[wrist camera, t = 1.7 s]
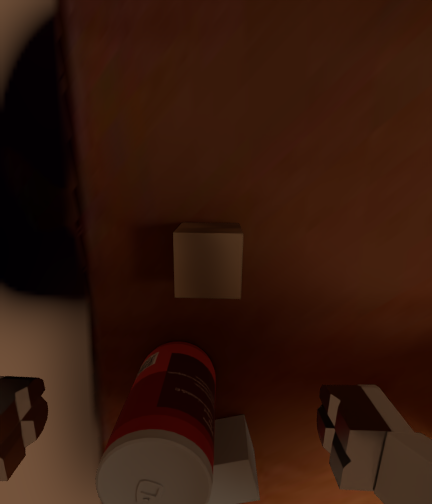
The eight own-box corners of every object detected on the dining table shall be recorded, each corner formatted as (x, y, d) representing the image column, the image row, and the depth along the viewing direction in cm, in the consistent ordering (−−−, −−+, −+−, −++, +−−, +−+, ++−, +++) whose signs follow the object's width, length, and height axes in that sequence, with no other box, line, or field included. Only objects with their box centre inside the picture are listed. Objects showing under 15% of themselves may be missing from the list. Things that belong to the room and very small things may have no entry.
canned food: (140, 402, 30) (95, 527, 19) (141, 335, 28) (91, 432, 17) (213, 408, 30) (208, 536, 19) (219, 341, 28) (217, 443, 17)
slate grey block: (244, 413, 30) (248, 459, 25) (253, 449, 31) (259, 499, 26) (198, 422, 30) (194, 468, 25) (210, 457, 31) (208, 508, 27)
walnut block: (238, 223, 25) (243, 233, 20) (237, 276, 26) (240, 299, 21) (182, 222, 25) (173, 232, 20) (183, 275, 26) (174, 297, 21)
